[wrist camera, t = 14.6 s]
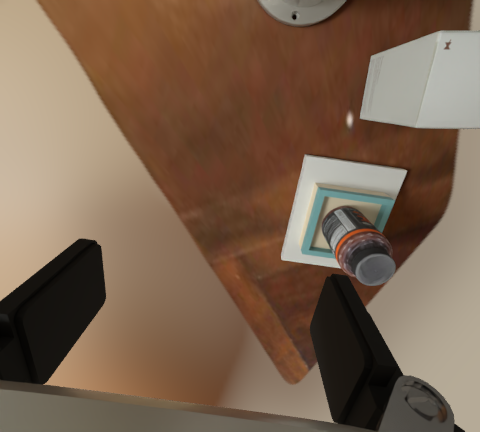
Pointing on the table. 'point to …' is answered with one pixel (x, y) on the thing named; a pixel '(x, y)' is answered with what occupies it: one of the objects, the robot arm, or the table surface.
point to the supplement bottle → (358, 246)
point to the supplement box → (426, 83)
